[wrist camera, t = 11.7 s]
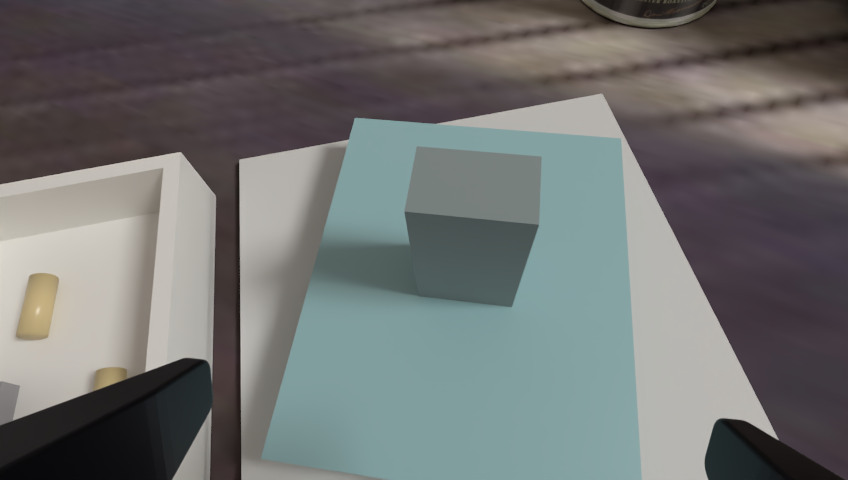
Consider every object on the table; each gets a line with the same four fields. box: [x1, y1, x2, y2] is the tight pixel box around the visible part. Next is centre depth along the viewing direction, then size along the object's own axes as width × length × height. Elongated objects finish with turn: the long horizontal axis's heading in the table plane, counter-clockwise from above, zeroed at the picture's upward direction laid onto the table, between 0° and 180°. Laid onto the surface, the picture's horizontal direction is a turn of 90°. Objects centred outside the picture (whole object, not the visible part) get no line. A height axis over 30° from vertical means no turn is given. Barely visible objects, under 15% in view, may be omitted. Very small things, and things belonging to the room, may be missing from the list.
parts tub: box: [0, 152, 216, 480], centre depth 21 cm, size 16×13×4 cm
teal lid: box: [261, 118, 642, 480], centre depth 19 cm, size 17×14×10 cm
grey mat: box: [239, 94, 778, 480], centre depth 23 cm, size 22×22×1 cm
